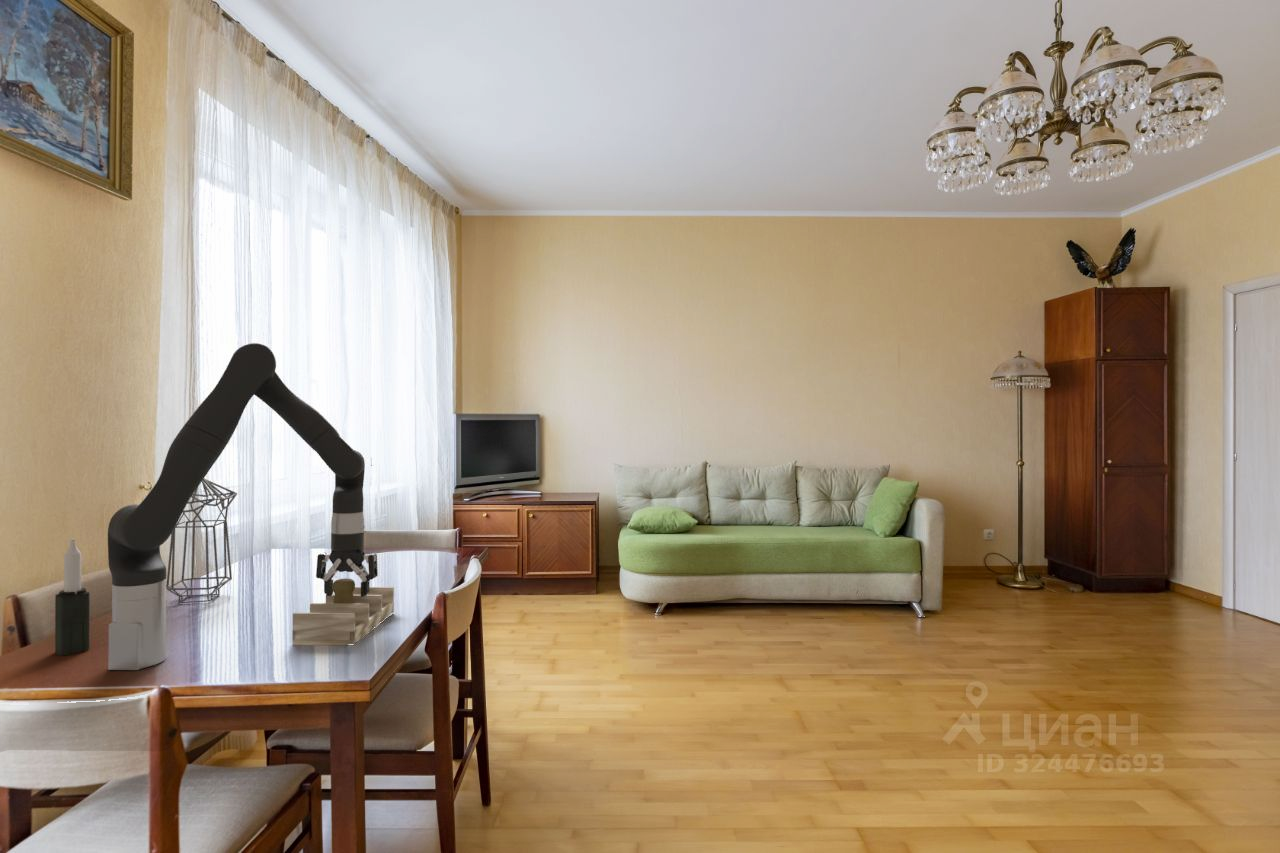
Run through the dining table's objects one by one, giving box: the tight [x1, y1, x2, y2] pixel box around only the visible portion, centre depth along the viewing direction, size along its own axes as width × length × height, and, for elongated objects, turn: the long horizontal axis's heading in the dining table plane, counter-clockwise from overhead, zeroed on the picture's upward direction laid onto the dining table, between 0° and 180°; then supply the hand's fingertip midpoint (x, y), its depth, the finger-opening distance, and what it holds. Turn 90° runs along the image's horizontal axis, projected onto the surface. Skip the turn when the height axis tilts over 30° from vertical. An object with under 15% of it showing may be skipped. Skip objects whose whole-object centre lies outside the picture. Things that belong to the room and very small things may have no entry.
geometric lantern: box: [166, 477, 238, 604], centre depth 193 cm, size 16×16×35 cm
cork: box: [332, 577, 356, 603], centre depth 168 cm, size 6×6×11 cm
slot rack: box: [291, 586, 395, 646], centre depth 168 cm, size 25×14×7 cm, turn 0°
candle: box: [54, 537, 91, 656], centre depth 150 cm, size 5×5×25 cm
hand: (346, 595), depth 168 cm, fingers open, 8 cm apart
